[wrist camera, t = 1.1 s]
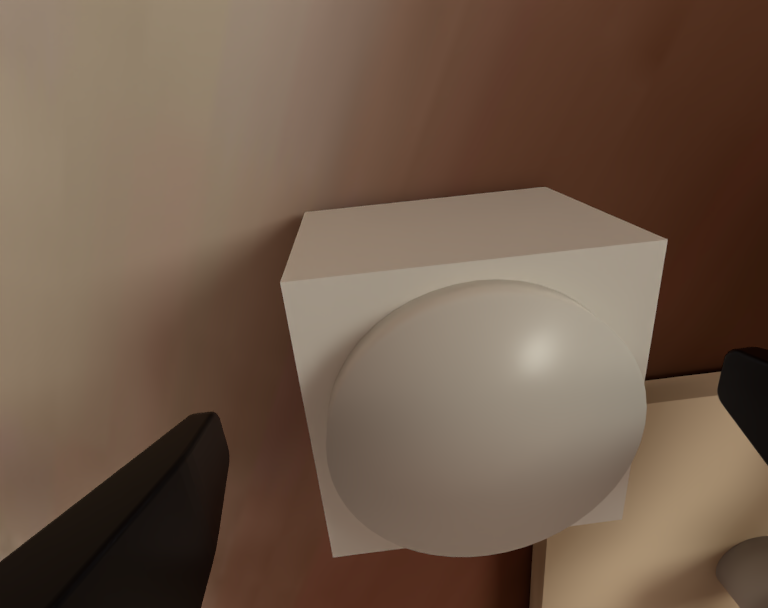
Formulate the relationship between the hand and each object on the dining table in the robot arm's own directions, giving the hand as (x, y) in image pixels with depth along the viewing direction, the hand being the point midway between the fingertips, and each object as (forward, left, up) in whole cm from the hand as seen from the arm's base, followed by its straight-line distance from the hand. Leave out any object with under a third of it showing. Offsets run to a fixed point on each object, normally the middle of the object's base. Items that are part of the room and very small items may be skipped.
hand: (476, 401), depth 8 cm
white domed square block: (0, 0, -4) cm, 4 cm away
